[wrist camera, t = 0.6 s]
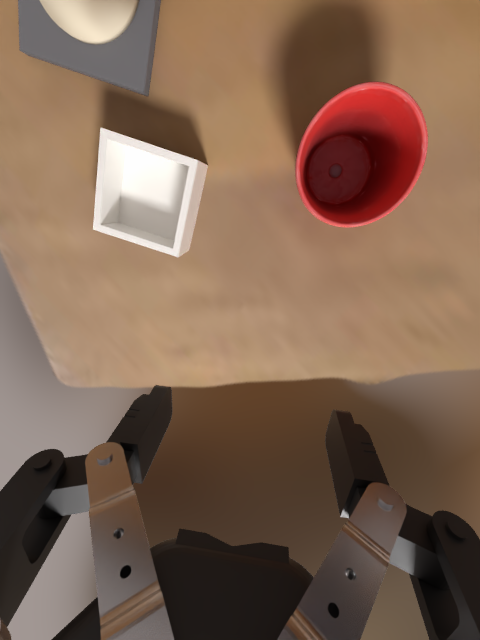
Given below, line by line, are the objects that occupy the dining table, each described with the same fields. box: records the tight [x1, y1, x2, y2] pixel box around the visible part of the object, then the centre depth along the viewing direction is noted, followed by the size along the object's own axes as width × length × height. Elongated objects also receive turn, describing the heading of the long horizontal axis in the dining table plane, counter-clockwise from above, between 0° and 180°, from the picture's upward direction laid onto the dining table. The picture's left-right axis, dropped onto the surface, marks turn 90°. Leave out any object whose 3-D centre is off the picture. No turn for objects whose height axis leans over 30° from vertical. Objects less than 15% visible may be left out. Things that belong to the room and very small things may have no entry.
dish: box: [93, 128, 208, 257], centre depth 33 cm, size 11×11×5 cm
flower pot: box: [295, 82, 428, 227], centre depth 28 cm, size 11×11×10 cm
